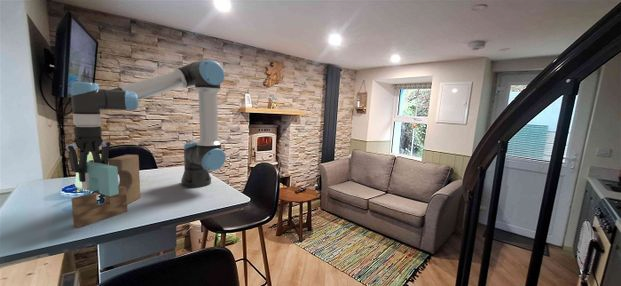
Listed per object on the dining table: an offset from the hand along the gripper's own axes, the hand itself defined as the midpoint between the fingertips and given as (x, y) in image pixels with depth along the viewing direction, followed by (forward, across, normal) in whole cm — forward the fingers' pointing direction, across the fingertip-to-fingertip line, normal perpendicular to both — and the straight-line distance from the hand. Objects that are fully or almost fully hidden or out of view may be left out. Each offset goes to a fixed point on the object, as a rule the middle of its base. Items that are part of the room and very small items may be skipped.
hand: (92, 188), depth 96 cm
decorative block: (+11, -14, -4) cm, 18 cm away
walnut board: (+11, 0, +5) cm, 12 cm away
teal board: (0, 0, +5) cm, 5 cm away
